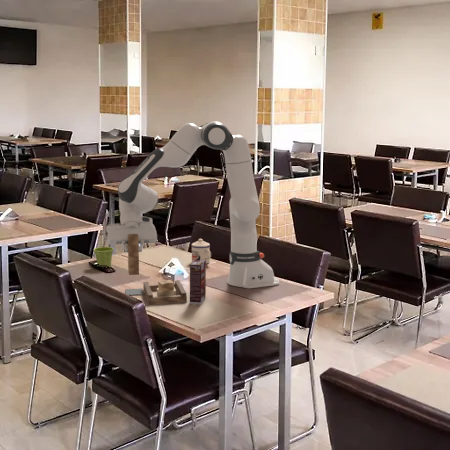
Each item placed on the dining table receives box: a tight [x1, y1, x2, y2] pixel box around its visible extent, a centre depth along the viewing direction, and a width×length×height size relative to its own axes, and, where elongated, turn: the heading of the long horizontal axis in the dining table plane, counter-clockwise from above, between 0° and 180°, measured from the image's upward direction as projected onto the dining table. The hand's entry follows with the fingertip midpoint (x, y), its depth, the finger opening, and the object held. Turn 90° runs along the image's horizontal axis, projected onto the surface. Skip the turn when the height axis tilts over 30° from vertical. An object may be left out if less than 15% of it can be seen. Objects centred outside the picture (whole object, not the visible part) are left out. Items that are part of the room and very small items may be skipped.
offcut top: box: [158, 279, 175, 291], centre depth 264 cm, size 5×4×3 cm
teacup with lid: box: [191, 238, 212, 265], centre depth 320 cm, size 12×9×12 cm
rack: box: [142, 279, 188, 305], centre depth 268 cm, size 15×20×4 cm
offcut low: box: [156, 288, 177, 296], centre depth 264 cm, size 7×5×4 cm
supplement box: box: [189, 260, 207, 305], centre depth 259 cm, size 9×5×16 cm, turn 168°
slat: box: [127, 234, 140, 276], centre depth 269 cm, size 4×4×16 cm
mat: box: [124, 287, 145, 296], centre depth 272 cm, size 7×8×1 cm
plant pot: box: [93, 246, 114, 268], centre depth 312 cm, size 9×9×9 cm
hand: (133, 251), depth 268 cm, fingers closed on slat, 4 cm apart
